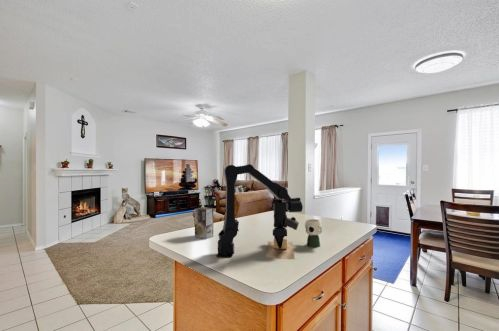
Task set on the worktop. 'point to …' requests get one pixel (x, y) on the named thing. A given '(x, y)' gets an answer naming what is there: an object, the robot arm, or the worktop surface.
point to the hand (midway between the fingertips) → (280, 246)
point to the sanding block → (284, 244)
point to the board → (280, 251)
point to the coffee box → (204, 222)
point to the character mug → (313, 232)
